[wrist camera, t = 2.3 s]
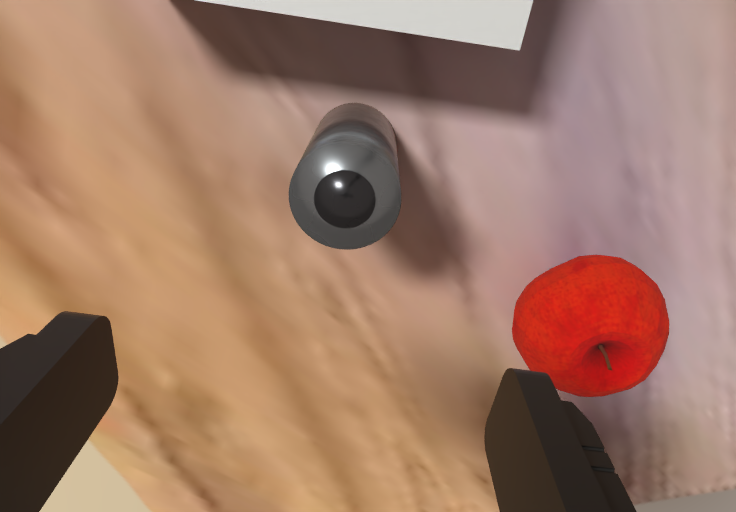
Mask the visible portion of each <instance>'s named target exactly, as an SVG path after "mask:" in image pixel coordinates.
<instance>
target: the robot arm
mask: <svg viewBox="0 0 736 512" xmlns="http://www.w3.org/2000/svg"><path fill="white" fill-rule="evenodd" d="M117 385H118V369H117V363H116V356H115V349H114V343H113V336H112V329H111V324H110V321H109V319H108V318H107V317H105V316H99V315H91V314H84V313H76V312H68V311H64V312H61V313H60V314H58V315H57V316H56V317H55V318H54V319H53V320H51V321H50V322H49V323H48V324H47V325H46V326H45V327H44V328H43V329H42V330H41V331H40V332H39V333H38V334H37V335H33V334H27V335H25V336H23V337H21V338H20V339H18V340H16V341H14V342H12V343H10V344H8V345H6V346H5V347H3V348H1V349H0V512H39V511H40V510H41V508H42V507H43V505H44V504H45V502H46V501H47V499H48V498H49V496H50V495H51V493H52V492H53V490H54V489H55V487H56V486H57V484H58V483H59V481H60V480H61V478H62V477H63V475H64V474H65V472H66V471H67V469H68V468H69V467H70V465H71V464H72V462H73V460H74V459H75V457H76V456H77V455H78V453H79V452H80V450H81V449H82V447H83V446H84V444H85V443H86V441H87V440H88V438H89V437H90V435H91V434H92V432H93V431H94V429H95V428H96V426H97V425H98V423H99V422H100V420H101V419H102V417H103V416H104V414H105V413H106V411H107V410H108V408H109V407H110V405H111V403H112V401H113V399H114V396H115V394H116V390H117ZM485 450H486V455H487V459H488V463H489V468H490V472H491V476H492V480H493V485H494V489H495V493H496V497H497V502H498V506H499V510H500V512H636V510H635V508H634V506H633V504H632V502H631V500H630V498H629V496H628V494H627V492H626V490H625V488H624V486H623V484H622V482H621V480H620V478H619V476H618V474H615V472H614V469H615V468H614V466H613V464H612V462H611V460H610V458H609V456H608V454H607V453H605V452H604V446H603V444H602V442H601V440H600V438H599V436H598V434H597V432H596V430H595V429H594V427H593V425H592V423H591V422H590V421H589V420H588V419H587V418H586V417H585V416H584V415H583V414H582V412H581V411H580V410H579V409H578V408H577V407H576V406H575V405H574V404H573V403H572V402H568V401H561V400H560V397H559V395H558V393H557V391H556V389H555V386H554V384H553V382H552V380H551V378H550V376H549V375H548V374H547V373H544V372H536V371H528V370H520V369H512V368H509V369H507V370H506V371H505V373H504V375H503V378H502V380H501V383H500V386H499V389H498V391H497V394H496V397H495V399H494V402H493V405H492V408H491V410H490V413H489V416H488V419H487V422H486V427H485Z"/></svg>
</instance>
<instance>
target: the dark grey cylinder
mask: <svg viewBox="0 0 736 512" xmlns="http://www.w3.org/2000/svg"><path fill="white" fill-rule="evenodd" d="M289 203H290V208H291V211H292V214H293V216H294V218H295V220H296V222H297V223H298V225H299V226H300V227H301V229H302V230H303V231H304V232H305V233H306V234H307V235H308V236H310V237H311V238H312V239H314V240H315V241H317V242H319V243H321V244H323V245H325V246H329V247H332V248H337V249H357V248H362V247H365V246H368V245H370V244H373V243H374V242H376V241H378V240H379V239H381V238H382V237H383V236H384V235H385V234H386V233H387V232H388V231H389V230H390V229H391V228H392V226H393V225H394V223H395V221H396V219H397V217H398V215H399V211H400V207H401V188H400V178H399V168H398V157H397V147H396V138H395V133H394V130H393V128H392V126H391V124H390V122H389V121H388V119H387V118H386V117H385V116H384V115H383V114H382V113H381V112H380V111H378V110H377V109H375V108H373V107H371V106H369V105H366V104H361V103H348V104H343V105H340V106H338V107H336V108H334V109H332V110H331V111H330V112H328V113H327V114H326V115H325V116H324V118H323V119H322V120H321V122H320V124H319V125H318V127H317V129H316V131H315V133H314V135H313V137H312V139H311V141H310V143H309V145H308V147H307V148H306V150H305V152H304V154H303V156H302V158H301V160H300V162H299V164H298V166H297V168H296V170H295V172H294V174H293V176H292V179H291V182H290V187H289Z"/></svg>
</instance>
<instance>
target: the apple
mask: <svg viewBox="0 0 736 512" xmlns="http://www.w3.org/2000/svg"><path fill="white" fill-rule="evenodd" d="M512 334H513V340H514V342H515V345H516V347H517V349H518V351H519V353H520V354H521V356H522V358H523V359H524V361H525V363H526V364H527V366H528V368H529V369H530V371H536V372H544V373H547V374H548V375H549V376H550V378H551V380H552V382H553V384H554V386H555V388H556V389H558V390H561V391H564V392H567V393H570V394H574V395H577V396H583V397H596V396H606V395H609V394H613V393H617V392H621V391H624V390H628V389H631V388H632V387H634V386H636V385H637V384H639V383H641V382H642V381H644V380H645V379H646V378H647V377H648V375H649V374H650V373H651V372H652V370H653V369H654V368H655V367H656V365H657V363H658V361H659V359H660V357H661V355H662V353H663V351H664V349H665V346H666V342H667V339H668V335H669V318H668V313H667V309H666V304H665V299H664V297H663V295H662V293H661V291H660V289H659V287H658V285H657V284H656V283H655V282H654V281H653V280H652V279H651V278H650V277H649V276H647V275H646V274H645V273H644V272H643V271H642V270H640V269H639V268H638V267H636V266H635V265H633V264H632V263H630V262H628V261H626V260H624V259H622V258H618V257H611V256H603V255H588V256H579V257H577V258H574V259H572V260H570V261H567V262H565V263H563V264H561V265H558V266H556V267H554V268H551V269H550V270H548V271H546V272H545V273H543V274H541V275H540V276H538V277H536V278H535V279H534V280H533V281H532V282H531V283H529V284H528V285H527V286H526V287H525V289H524V291H523V292H522V294H521V295H520V297H519V298H518V300H517V302H516V306H515V310H514V318H513V327H512Z"/></svg>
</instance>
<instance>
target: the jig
mask: <svg viewBox="0 0 736 512" xmlns="http://www.w3.org/2000/svg"><path fill="white" fill-rule="evenodd" d="M196 1H203V2H209V3H216V4H222V5H229V6H235V7H242V8H248V9H254V10H261V11H267V12H274V13H280V14H287V15H293V16H300V17H306V18H313V19H319V20H326V21H332V22H339V23H345V24H351V25H358V26H364V27H371V28H377V29H384V30H390V31H397V32H403V33H410V34H416V35H423V36H429V37H435V38H442V39H448V40H455V41H461V42H468V43H474V44H481V45H487V46H494V47H500V48H507V49H513V50H519V51H520V48H521V44H522V40H523V37H524V33H525V29H526V26H527V22H528V18H529V14H530V11H531V7H532V3H533V0H196Z"/></svg>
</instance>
